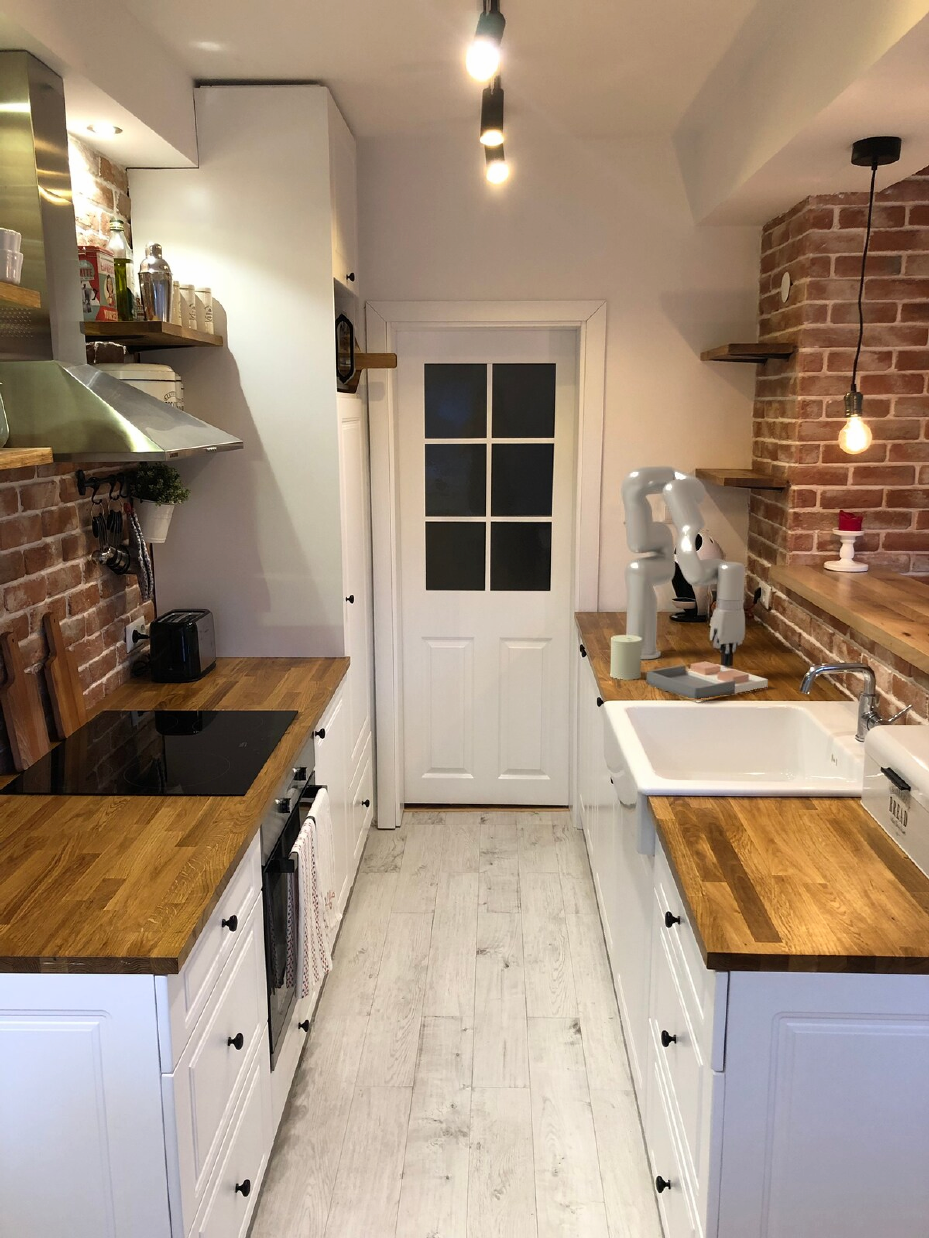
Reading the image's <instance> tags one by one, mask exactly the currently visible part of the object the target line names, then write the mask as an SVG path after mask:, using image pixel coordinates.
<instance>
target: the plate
mask: <svg viewBox="0 0 929 1238" xmlns="http://www.w3.org/2000/svg"><path fill="white" fill-rule="evenodd" d="M715 664H716V665H720V666H721V669H720V672H723V671H728V670H736V671H739V672H743V673H746V674H749V681H747V682H742V683H737V684H735V693H738V692H742V691H750V690H753V689H757V688H764V687H767V688H768V683H769V679H767V678H764V677H761V676H757V675H754V674H751V673H748V672H745V671H741V670H739V669H734V668H733V667H732V668H731V667H730V666H729V667H727V666H724V665H721V664H718V663H715ZM690 670H691V668H688V669H686V671H685V674H688V675H691V676H694V677H697V678H700V679H703V680H706V681H709V682H712V683H715V684H717V683H723V682H724V681H721V680H718V679H717V677H718V673H715V674H709V675H702V674H699V673H696V672H693V671H690ZM750 692H751V691H750Z"/></svg>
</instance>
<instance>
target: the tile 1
mask: <svg viewBox="0 0 929 1238" xmlns="http://www.w3.org/2000/svg"><path fill="white" fill-rule="evenodd" d="M716 664H717V663H712V662H709V661H707V660H705V661H701V662H696V663H695V662H694V663H690V669H691V670H690V671H693V672H696V673H699V674H702V675H709V674H715V673H718V672H720V669H721V666H720V665H721V664H719V665H716Z"/></svg>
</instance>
